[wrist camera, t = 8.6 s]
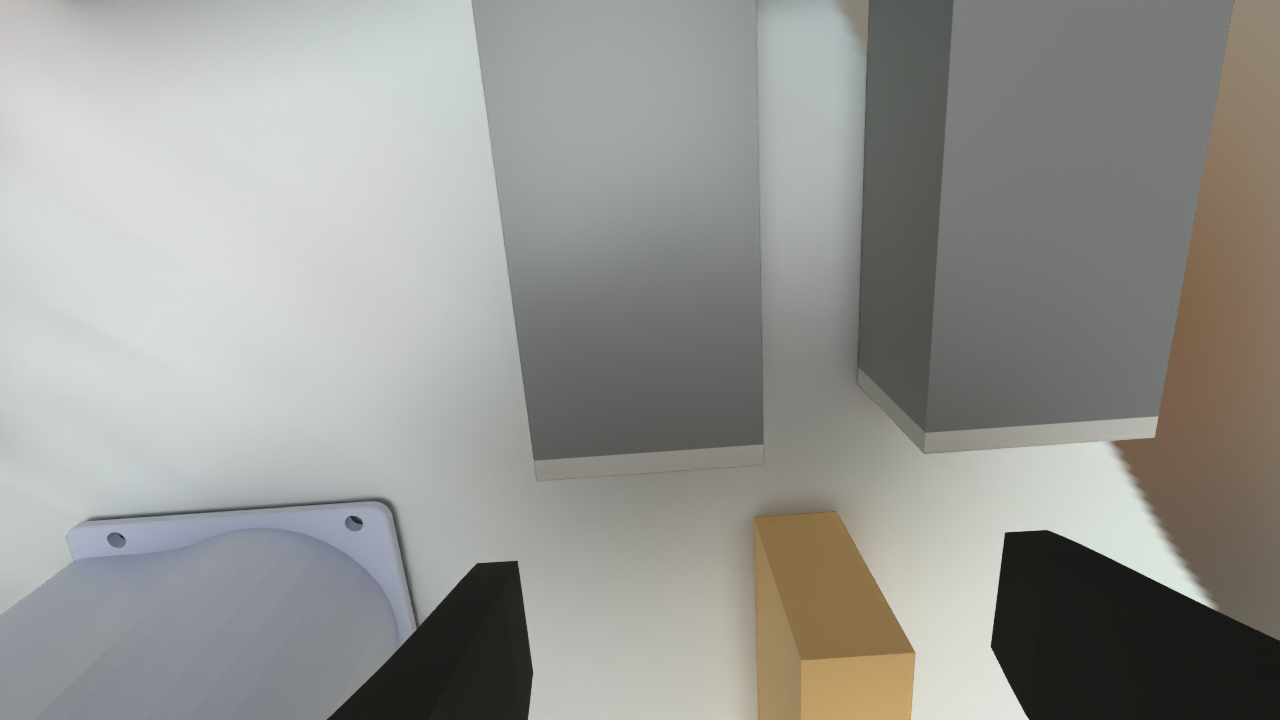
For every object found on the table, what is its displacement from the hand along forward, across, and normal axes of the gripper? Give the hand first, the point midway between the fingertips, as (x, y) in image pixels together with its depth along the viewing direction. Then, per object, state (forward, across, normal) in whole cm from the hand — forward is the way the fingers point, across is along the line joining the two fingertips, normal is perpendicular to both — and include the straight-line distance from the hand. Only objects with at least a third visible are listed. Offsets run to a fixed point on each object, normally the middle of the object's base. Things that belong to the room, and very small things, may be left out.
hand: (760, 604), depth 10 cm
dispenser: (+9, -3, -6) cm, 11 cm away
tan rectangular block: (+10, -3, +10) cm, 14 cm away
